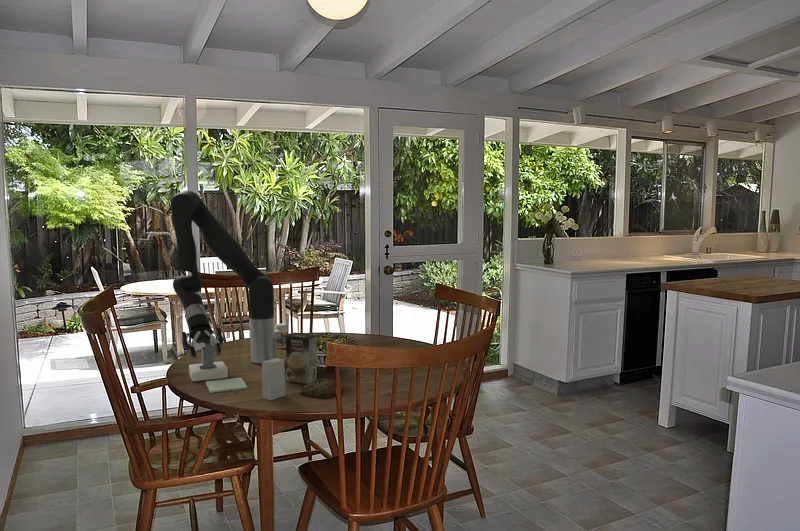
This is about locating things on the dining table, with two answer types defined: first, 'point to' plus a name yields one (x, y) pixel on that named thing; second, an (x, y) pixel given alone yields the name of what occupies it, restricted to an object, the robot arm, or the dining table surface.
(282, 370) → the skincare box
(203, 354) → the t-key
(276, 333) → the pill bottle
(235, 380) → the sage mat
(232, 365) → the dining table surface
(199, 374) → the key socket
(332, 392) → the brown rock
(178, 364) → the dining table surface
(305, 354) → the coffee box
